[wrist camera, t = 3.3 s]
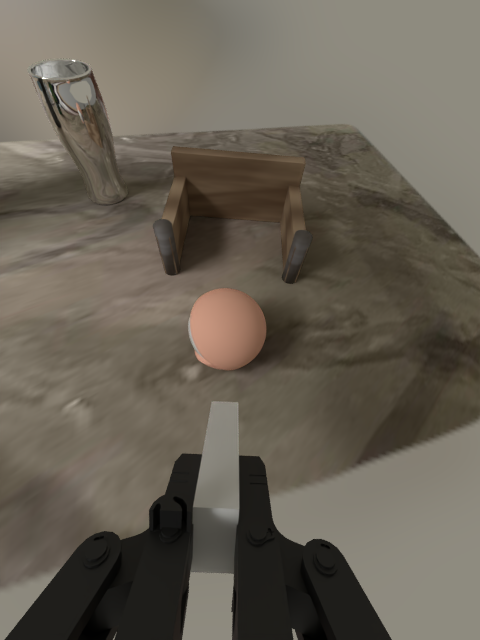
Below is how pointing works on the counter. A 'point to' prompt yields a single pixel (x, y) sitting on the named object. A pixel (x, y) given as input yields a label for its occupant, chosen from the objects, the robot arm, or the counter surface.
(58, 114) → the beer glass
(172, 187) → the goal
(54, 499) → the counter surface
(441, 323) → the counter surface
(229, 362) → the toy ball
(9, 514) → the counter surface
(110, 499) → the counter surface
